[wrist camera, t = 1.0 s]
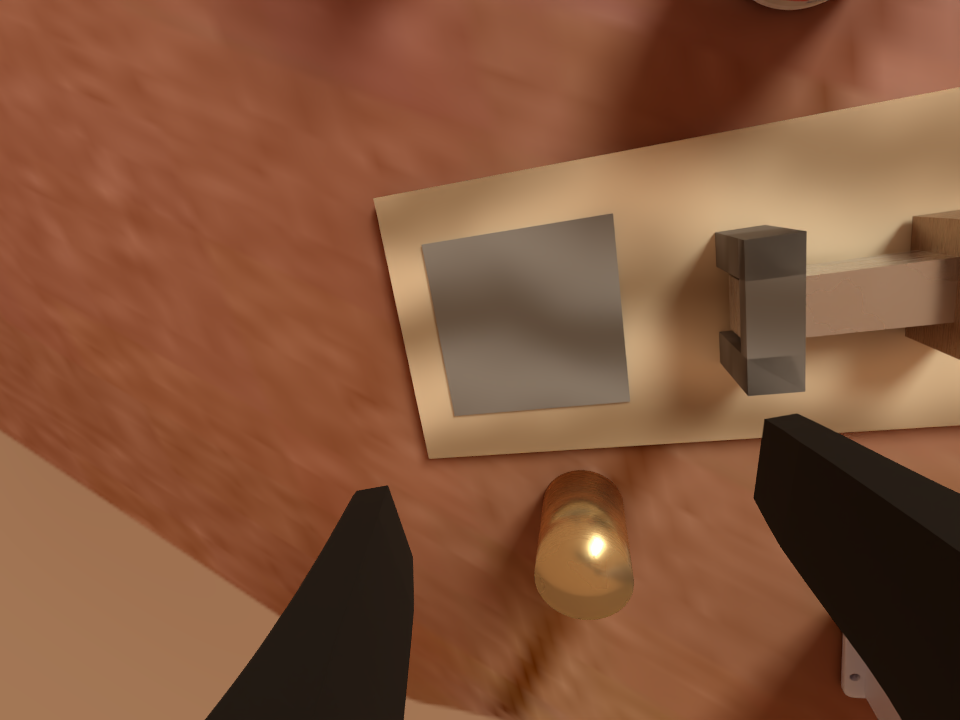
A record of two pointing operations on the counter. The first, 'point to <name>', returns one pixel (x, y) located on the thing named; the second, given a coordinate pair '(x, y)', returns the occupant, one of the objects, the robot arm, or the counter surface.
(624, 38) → the counter surface
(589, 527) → the cylinder
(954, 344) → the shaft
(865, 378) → the clamp jig
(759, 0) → the pill bottle
